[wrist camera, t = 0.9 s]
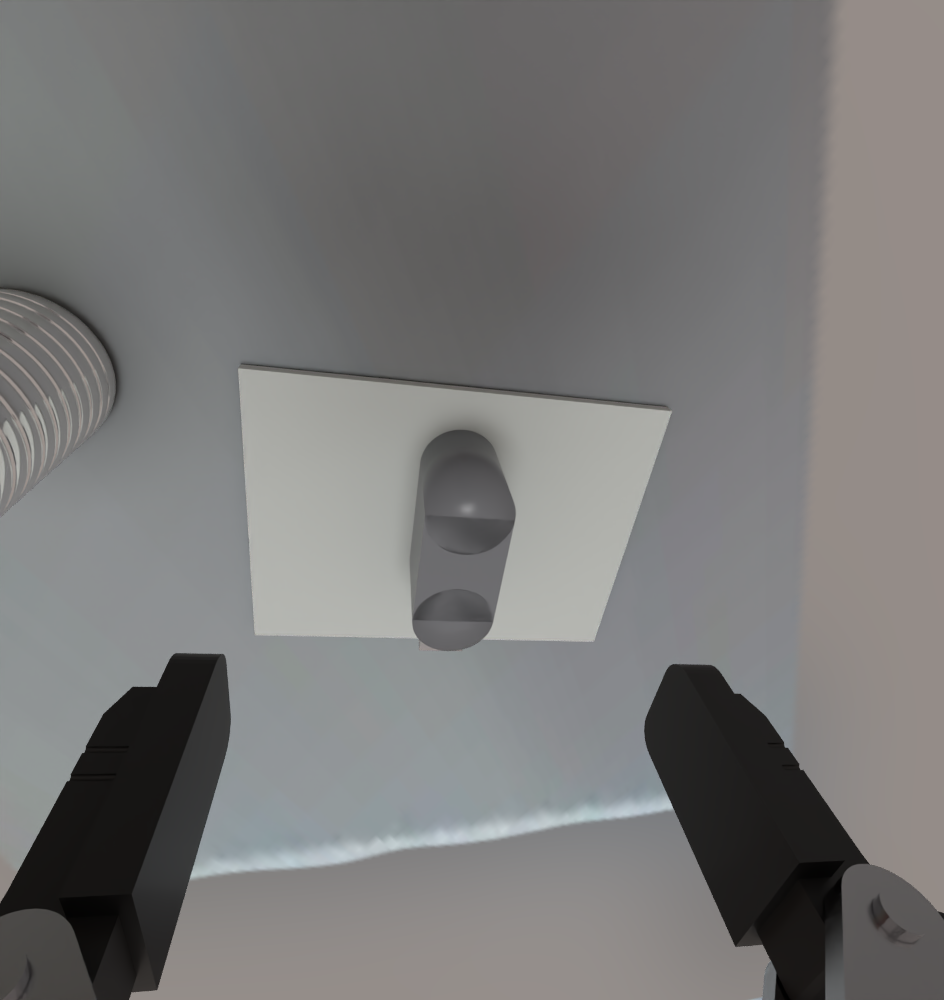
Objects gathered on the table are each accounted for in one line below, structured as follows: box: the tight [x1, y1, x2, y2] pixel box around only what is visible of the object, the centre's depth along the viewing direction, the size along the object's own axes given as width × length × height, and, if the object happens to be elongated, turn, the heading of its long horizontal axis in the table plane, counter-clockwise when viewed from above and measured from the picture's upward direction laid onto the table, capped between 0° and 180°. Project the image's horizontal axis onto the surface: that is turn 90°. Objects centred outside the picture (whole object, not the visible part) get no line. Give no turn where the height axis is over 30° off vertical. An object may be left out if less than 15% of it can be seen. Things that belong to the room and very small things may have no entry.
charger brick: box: [410, 430, 516, 651], centre depth 29 cm, size 12×4×5 cm, turn 172°
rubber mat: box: [238, 364, 672, 642], centre depth 31 cm, size 16×21×1 cm
